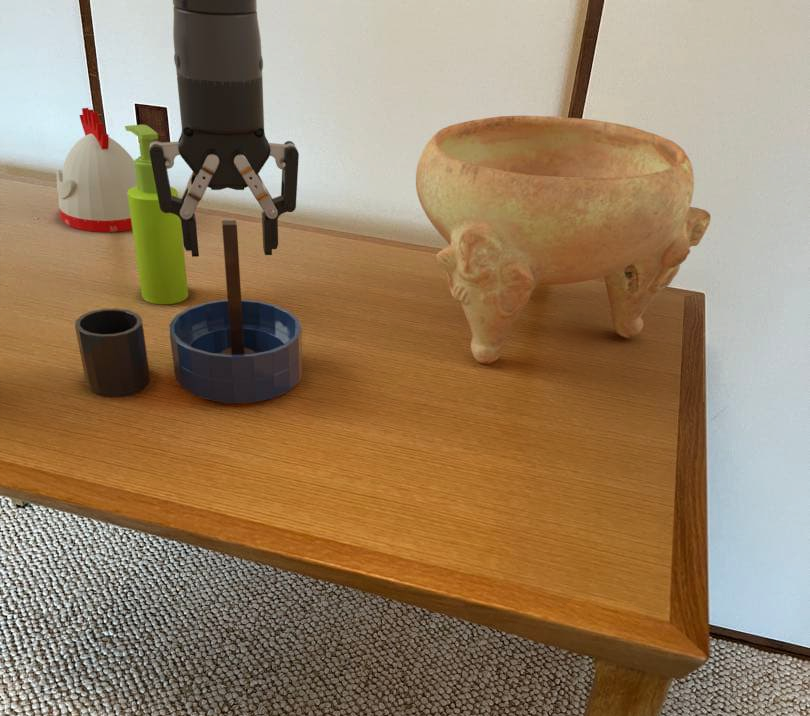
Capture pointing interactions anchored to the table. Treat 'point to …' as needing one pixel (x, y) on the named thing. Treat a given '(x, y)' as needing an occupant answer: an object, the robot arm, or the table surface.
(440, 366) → the table surface
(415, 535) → the table surface
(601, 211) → the decorative bowl
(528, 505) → the table surface
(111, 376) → the crock
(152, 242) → the soap dispenser
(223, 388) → the mixing bowl
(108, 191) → the kitchen timer
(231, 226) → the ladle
